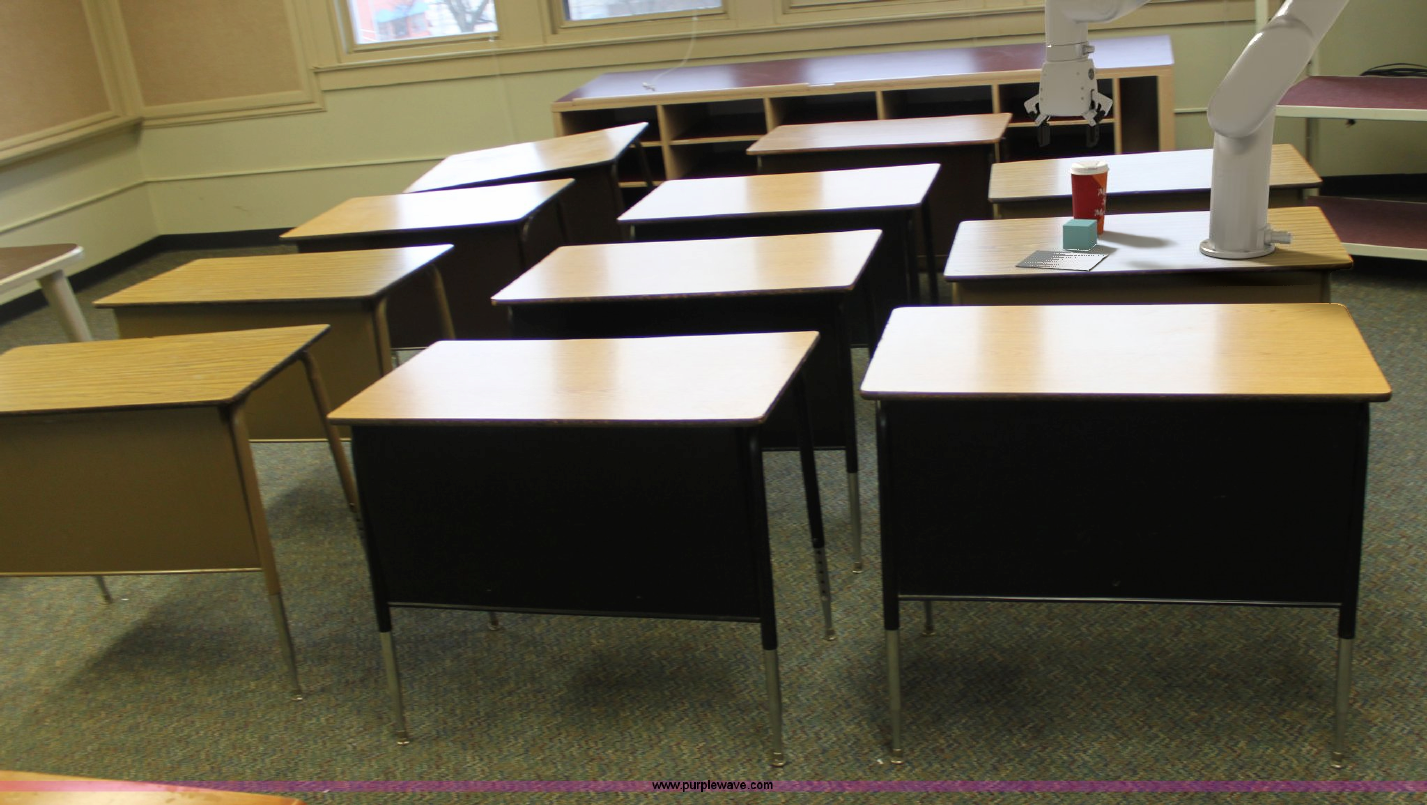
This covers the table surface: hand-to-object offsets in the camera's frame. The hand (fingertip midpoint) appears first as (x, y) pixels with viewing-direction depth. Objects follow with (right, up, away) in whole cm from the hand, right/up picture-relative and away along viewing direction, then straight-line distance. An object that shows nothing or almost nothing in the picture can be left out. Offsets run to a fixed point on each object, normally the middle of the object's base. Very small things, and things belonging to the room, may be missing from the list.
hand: (1067, 145), depth 217 cm
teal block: (+4, -19, +5) cm, 20 cm away
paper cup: (+9, -15, +15) cm, 23 cm away
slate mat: (-2, -22, -2) cm, 22 cm away
